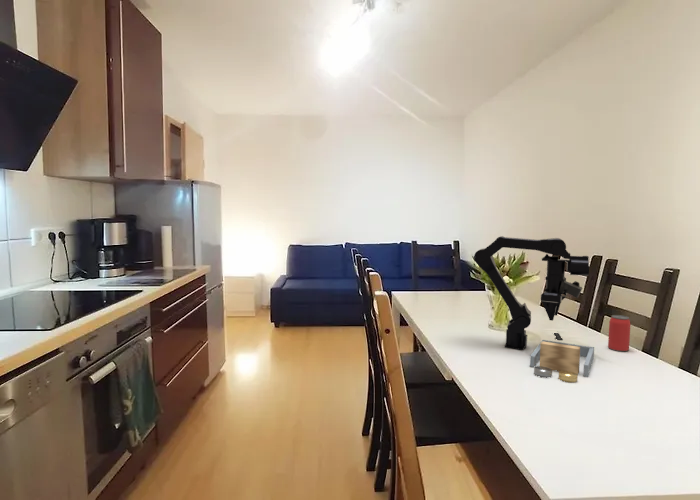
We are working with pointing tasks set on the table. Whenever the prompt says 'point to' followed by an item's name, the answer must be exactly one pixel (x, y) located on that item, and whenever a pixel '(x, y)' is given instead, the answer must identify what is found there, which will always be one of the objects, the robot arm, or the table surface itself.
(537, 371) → the gunmetal token
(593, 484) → the table surface
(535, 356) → the cubby
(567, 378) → the brass token
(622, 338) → the beer can
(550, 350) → the wooden plank block
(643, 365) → the table surface
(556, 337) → the cleaver
